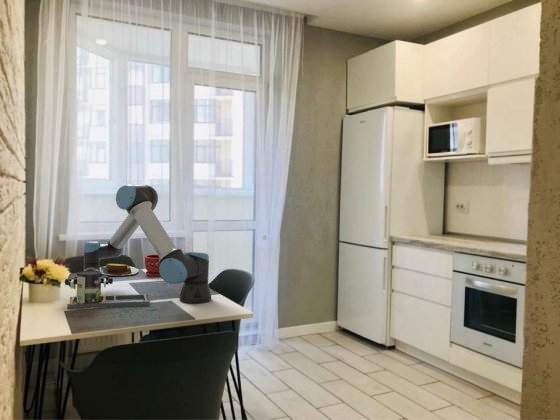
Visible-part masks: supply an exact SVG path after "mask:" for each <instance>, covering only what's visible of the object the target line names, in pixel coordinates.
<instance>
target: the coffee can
mask: <svg viewBox="0 0 560 420" xmlns="http://www.w3.org/2000/svg"><path fill="white" fill-rule="evenodd" d="M102 275H103V274H102V272H100V271H84V270H82V271H78V272H76V276H77V284H76V297H77V302H76V304H78V303H101V296H102V294H101V293H102V283H101V277H102Z"/></svg>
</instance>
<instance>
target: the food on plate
mask: <svg viewBox="0 0 560 420" xmlns="http://www.w3.org/2000/svg"><path fill="white" fill-rule="evenodd" d="M139 271H140V270H139V269H138V268H136V267H134V266H130V265H127V264H122V263H120V264H119V263H106V265H105V266H100V272H102V274H101V275H106V276H108V277H123V276H131V275H135V274H137V273H138V272H139Z"/></svg>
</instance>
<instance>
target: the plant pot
mask: <svg viewBox="0 0 560 420" xmlns="http://www.w3.org/2000/svg"><path fill="white" fill-rule="evenodd" d="M159 260H160V257H159V256H158V254H147V255H145V256H144V266H145V270H146V271H145V275H146V276H149V277H154V278H155V277H161V275H160V272H159V271H160V269H159V267H160V264H159Z"/></svg>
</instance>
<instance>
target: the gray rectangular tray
mask: <svg viewBox="0 0 560 420" xmlns="http://www.w3.org/2000/svg"><path fill="white" fill-rule="evenodd" d="M123 300H124V301H123ZM125 300H126V301H125ZM128 300H129V301H128ZM76 302H77V296H70V299H69V303H67V304H66V306H67V307H66V308H67V309H66V310H84V309H106V308H124V307H126V308H128V306H130V307H145V306H144V305H149V306H150V300H148V293H135V294H110V295H109V294H108V295H107V294H106V295H101V303H78V304H76Z"/></svg>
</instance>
